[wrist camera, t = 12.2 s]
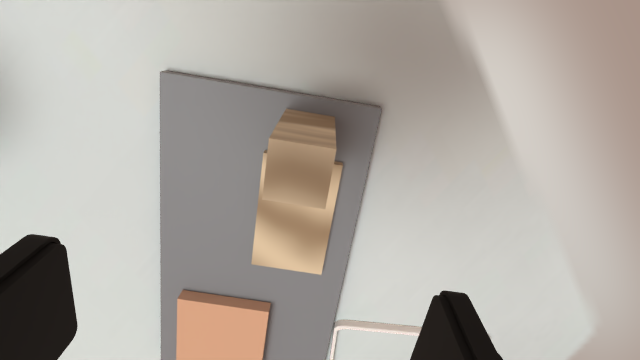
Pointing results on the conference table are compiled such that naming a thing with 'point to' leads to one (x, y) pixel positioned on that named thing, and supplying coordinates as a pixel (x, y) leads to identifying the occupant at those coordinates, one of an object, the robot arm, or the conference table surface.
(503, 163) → the conference table surface
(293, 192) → the stepped wooden block
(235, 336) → the tile
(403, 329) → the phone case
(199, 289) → the slate board
